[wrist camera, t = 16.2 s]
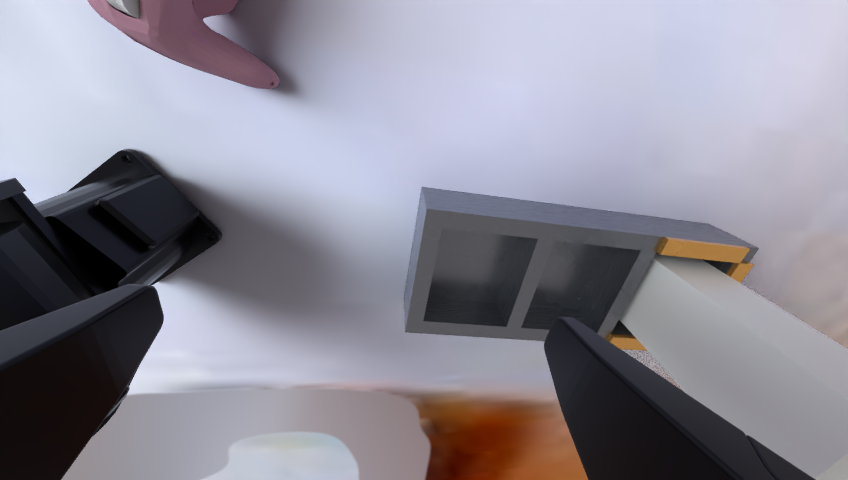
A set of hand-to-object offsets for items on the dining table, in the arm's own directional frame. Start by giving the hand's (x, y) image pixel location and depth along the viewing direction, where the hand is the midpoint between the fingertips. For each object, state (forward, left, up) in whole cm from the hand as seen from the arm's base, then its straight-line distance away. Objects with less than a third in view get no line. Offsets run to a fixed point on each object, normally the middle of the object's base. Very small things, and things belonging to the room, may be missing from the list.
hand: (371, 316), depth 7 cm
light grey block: (+11, -16, -12) cm, 23 cm away
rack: (+6, -12, -13) cm, 19 cm away
